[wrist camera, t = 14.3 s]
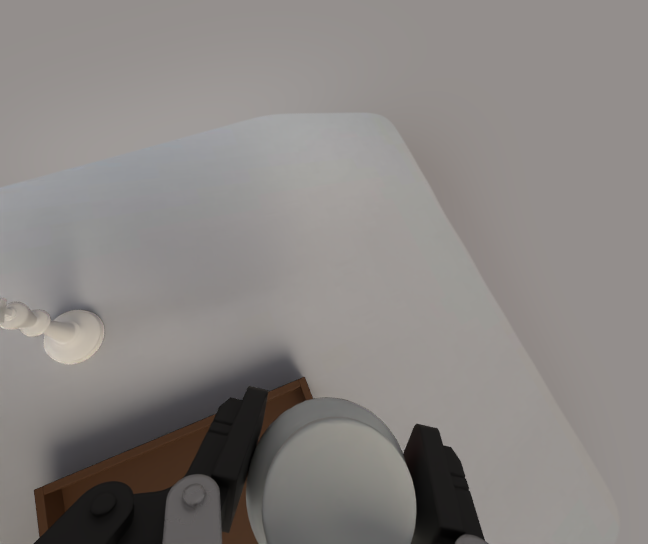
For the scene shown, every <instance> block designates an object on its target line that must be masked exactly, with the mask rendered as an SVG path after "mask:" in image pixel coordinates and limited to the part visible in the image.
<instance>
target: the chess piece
mask: <svg viewBox="0 0 648 544" xmlns="http://www.w3.org/2000/svg"><path fill="white" fill-rule="evenodd" d="M6 302H7V299H4V298H0V327H2V328H4V329H18V328H20V331H21V332H22V333H23V334H24V335H26V336H29V337H35V336H38V335H40V334H42V333H43V334H45V335H44V348H45V351H46V353H47V354H48V355H49V357H51V358H52V359H53V360H55V361H57V362H60V363H63V364H76V363H80V362H82V361H85V360H87V359H88V358H90V357H91V356H92V355H93V354H94V353H95V352H96V351H97V350H98V349H99V347H100V346H101V344H102V342H103V339H104V333H105V330H104V325H103V322H102V320H101V319H100V318H99V317H98V316H97V315H96V314H94V313H92V312H89V311H84V310H72V311H68V312H66V313H63V314H61V315H60V316H58V317H57V318H56V319H54V320H53V321H51V319H50V315H49V314H48V313H47V312H46V311H44V310H32V311H30V309H29V308H28V307H27V306H26V305H25V304H24V303H22V302H11V303H8V304H6Z"/></svg>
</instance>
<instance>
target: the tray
mask: <svg viewBox="0 0 648 544" xmlns="http://www.w3.org/2000/svg"><path fill="white" fill-rule="evenodd" d="M310 399H313V397H312V395H311V392H310V389H309V387H308V384H307V382H306V379H305V377H303V378H300V379H298V380H296V381H293V382H291V383H288V384H286V385H284V386H281V387H279V388H276V389H274V390H272V391H269V392H268V397H267V403H266V408H265V414H264V420H263V425H262V429H261V433H260V437H259V440H260V438H261V436H262V435H263V434H264V432H265V431H266V430H267V428H268V427H269V425H270V424H271V423H272V422H274V421H275V420H276V419H277V418H278V417H279V416H280V415H281V414H282V413H283V412H285V411H286V410H288V409H290V408H292V407H293V406H295V405H297V404H299V403H301V402H304V401H306V400H310ZM215 415H216V414H214V415H212V416H209V417H207V418H205V419H202V420H200V421H197V422H195V423H193V424H190V425H188V426H186V427H183V428H181V429H178V430H176V431H174V432H171V433H169V434H166V435H164V436H162V437H159V438H157V439H154V440H152V441H150V442H147V443H145V444H142V445H140V446H138V447H135V448H133V449H131V450H128V451H126V452H123V453H121V454H119V455H116V456H114V457H111V458H109V459H107V460H104V461H102V462H99V463H97V464H95V465H92V466H90V467H87V468H85V469H83V470H80V471H78V472H76V473H73V474H71V475H68V476H66V477H64V478H61V479H59V480H56V481H54V482H52V483H49V484H47V485H44V486H42V487H40V488H37V489H35V490H34V495H35V503H36V511H37V520H38V528H39V536H40V537H41V536H42V535H43V534H44V533H45V532H46V531H47V530H48V529H49V528H50V527H51V526H52V525H53V524H54V523H55V522H56V521H57V520H58V519H59V518H60V517H61V516H62V515H63V514H64V513H65V512H66V511H67V510H68V509H69V508H70V507H71V506H72V505H73V504H74V503H75V502H76V501H77V500H78V499H79V498H80V497H81V496H82V495H83V494H84V493H85V492H86V491H88V490H89V489H91V488H92V487H94V486H96V485H98V484H101V483H104V482H109V481H118V482H122V483H125V484H127V485H128V486H129V487H130V488H131V489H132V491H133V494H138V493H147V492H156V491H161V490H164V489H167V488H169V487H171V486H173V485H174V484H176V483H177V482H178V481H179V480H181V479H182V478H183V477H184V476H185V475H186V473H187V472H188V470H189V468H190V466H191V464H192V462H193V460H194V458H195V456H196V454H197V452H198V450H199V448H200V445H201V443H202V441H203V439H204V437H205V435H206V433H207V432H208V429H209V427H210V425H211V423H212V422H213V419H214V417H215ZM259 440H258V442H259ZM257 444H258V443H257ZM246 482H247V478H246V481H245V484H244V487H243V491H242V494H241V497H240V500H239V503H238V506H237V510H236V513H235V516H234V519H233V522H232V525H231V528H230V532H229V533H226V532H222V544H258V542H257V540H256V538H255V536H254V533H253V531H252V528H251V525H250V521H249V517H248V512H247V505H246Z"/></svg>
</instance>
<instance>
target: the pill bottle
mask: <svg viewBox="0 0 648 544" xmlns="http://www.w3.org/2000/svg"><path fill="white" fill-rule="evenodd" d="M246 505H247V512H248V517H249V521H250V525H251V528H252V531H253V533H254V536H255V538H256V540H257V542H258V544H411V541H412V538H413V534H414V530H415V524H416V497H415V490H414V485H413V481H412V478H411V475H410V472H409V470H408V467H407V465H406V461H405V458H404V455H403V453H402V450H401V448H400V446H399V444H398V442H397V440H396V438H395V437H394V435H393V434H392V432H391V431H390V429H389V428H388V427H387V426H386V425H385V424H384V422H383V421H381V420H380V419H379V418H378V417H377V416H376V415H375V414H373V413H372V412H371V411H369V410H367V409H366V408H364V407H362V406H360V405H358V404H356V403H353V402H351V401H348V400H344V399H338V398H328V397H325V398H316V399H310V400H306V401H304V402H301V403H299V404H297V405H295V406H293V407H292V408H290V409H288V410H286V411H285V412H283V413H282V414H281V415H280V416H279V417H278V418H277V419H276V420H275V421H274V422H272V423H271V424H270V425H269V427H268V428H267V430H266V431H265V432H264V434H263V435H262V436H261V438H260V440H259V442H258V444H257V446H256V448H255V451H254V453H253V456H252V459H251V462H250V466H249V470H248V475H247V482H246Z"/></svg>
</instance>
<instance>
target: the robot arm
mask: <svg viewBox="0 0 648 544" xmlns="http://www.w3.org/2000/svg"><path fill="white" fill-rule="evenodd" d="M267 397H268V390H265V389H260V388H256V387H251V386H249V387H248V388H247V391H246V393H245V395H244V398H243V400H239V399H235V398H229V399H228V400H227V401H226V402H225V403H224V404H222V405H221V406H220V407H219V409H218V411H217V413H216V415H215V417H214V419H213V422H212V423H211V425H210V427H209V429H208V432H207V433H206V435H205V437H204V439H203V441H202V443H201V445H200V448H199V450H198V452H197V454H196V456H195V458H194V460H193V462H192V464H191V466H190V468H189V470H188V472H187V473H186V475H185V476H184V477H183V478H182V479H181V480H179V481H178V482H177V483H176V484H174V485H173V486H171V487H169V488H167V489H164V490H161V491H156V492H147V493H138V494H133V491H132V489H131V488H130V487H129V486H128V485H127V484H125V483H122V482H118V481H109V482H104V483H101V484H98V485H96V486H94V487H92V488H91V489H89V490H88V491H86V492H85V493H84V494H83V495H82V496H81V497H80V498H79V499H78V500H77V501H76V502H75V503H74V504H73V505H72V506H71V507H70V508H69V509H68V510H67V511H66V512H65V513H64V514H63V515H62V516H61V517H60V518H59V519H58V520H57V521H56V522H55V523H54V524H53V525H52V526H51V527H50V528H49V529H48V530H47V531H46V532H45V533H44V534H43V535H42V536H41V537H40V538H39V539H38V540H37V541H36V542H35V543H34V544H222V532H226V533H229V532H230V528H231V525H232V522H233V519H234V516H235V513H236V510H237V506H238V503H239V500H240V497H241V494H242V491H243V487H244V484H245V481H246V478H247V475H248V470H249V466H250V462H251V459H252V456H253V453H254V451H255V448H256V446H257V443H258V440H259V437H260V433H261V429H262V425H263V420H264V414H265V408H266V403H267ZM403 455H404V458H405V461H406V465H407V467H408V470H409V472H410V475H411V478H412V481H413V485H414V490H415V497H416V524H415V530H414V534H413V538H412V541H411V544H488V543H487V542H486V541H485V539H484V536H483V533H482V530H481V526H480V523H479V520H478V517H477V513H476V510H475V507H474V504H473V500H472V497H471V494H470V491H469V487H468V484H467V481H466V479H465V474H464V471H463V467H462V464H461V461H460V460H459V458H458V457H457V455H456V454H455V452H454V451H453V450H452V448H451V447H448V446H443V444H442V440H441V436H440V432H439V430H438V429H437V428H433V427H429V426H424V425H420V424H416V425H415V426H414V428H413V431H412V433H411V436H410V438H409V441H408V443H407V446H406V448H405V451H404V453H403Z"/></svg>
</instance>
